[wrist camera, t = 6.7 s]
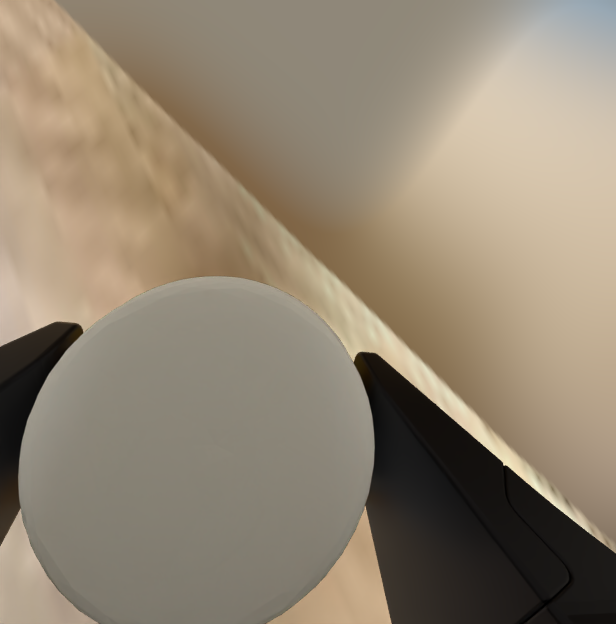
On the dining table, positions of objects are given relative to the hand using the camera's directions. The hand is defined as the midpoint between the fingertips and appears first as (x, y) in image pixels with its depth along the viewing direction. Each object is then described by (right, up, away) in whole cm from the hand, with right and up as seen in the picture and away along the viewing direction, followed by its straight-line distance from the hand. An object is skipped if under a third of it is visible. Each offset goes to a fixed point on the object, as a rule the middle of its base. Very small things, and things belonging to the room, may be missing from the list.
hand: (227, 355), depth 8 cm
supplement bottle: (-2, -3, +6) cm, 7 cm away
